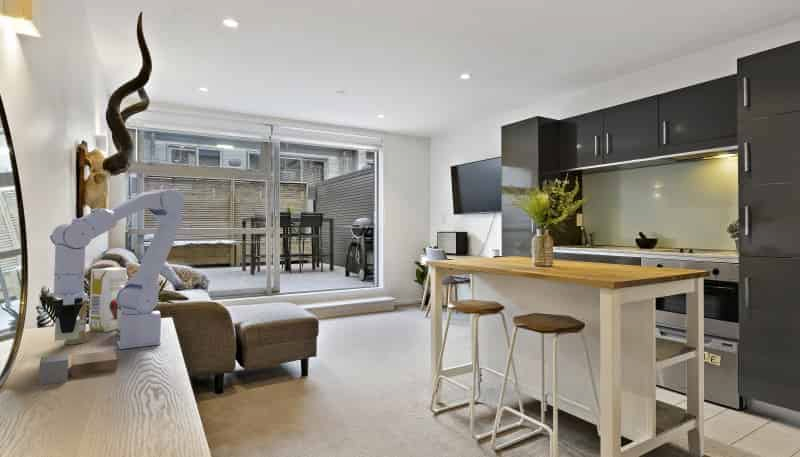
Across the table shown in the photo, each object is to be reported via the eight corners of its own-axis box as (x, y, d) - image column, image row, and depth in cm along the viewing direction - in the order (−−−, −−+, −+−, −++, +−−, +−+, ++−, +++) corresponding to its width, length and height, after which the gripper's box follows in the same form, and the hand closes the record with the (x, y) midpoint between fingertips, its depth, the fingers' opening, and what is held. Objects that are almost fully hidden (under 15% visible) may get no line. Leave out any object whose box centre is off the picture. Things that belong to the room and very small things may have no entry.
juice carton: (84, 331, 128) (86, 268, 128) (107, 325, 137) (110, 266, 137) (105, 333, 127) (108, 269, 127) (128, 327, 135) (130, 267, 136)
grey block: (67, 375, 91) (68, 354, 91) (67, 381, 88) (68, 359, 88) (40, 378, 89) (40, 357, 89) (38, 385, 85) (39, 363, 85)
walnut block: (113, 362, 101) (114, 350, 101) (116, 372, 95) (117, 359, 95) (71, 368, 96) (71, 355, 96) (71, 378, 90) (72, 364, 90)
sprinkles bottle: (85, 343, 115) (87, 294, 115) (63, 345, 113) (65, 295, 113) (86, 339, 119) (88, 292, 119) (65, 341, 116) (67, 292, 117)
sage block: (78, 334, 105) (79, 316, 105) (78, 338, 101) (79, 319, 101) (55, 336, 102) (55, 318, 102) (54, 340, 98) (55, 321, 98)
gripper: (48, 271, 105) (46, 326, 105) (46, 277, 93) (44, 339, 93) (84, 270, 109) (82, 323, 109) (86, 276, 98) (84, 335, 98)
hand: (67, 330), depth 101 cm, fingers closed on sage block, 4 cm apart
